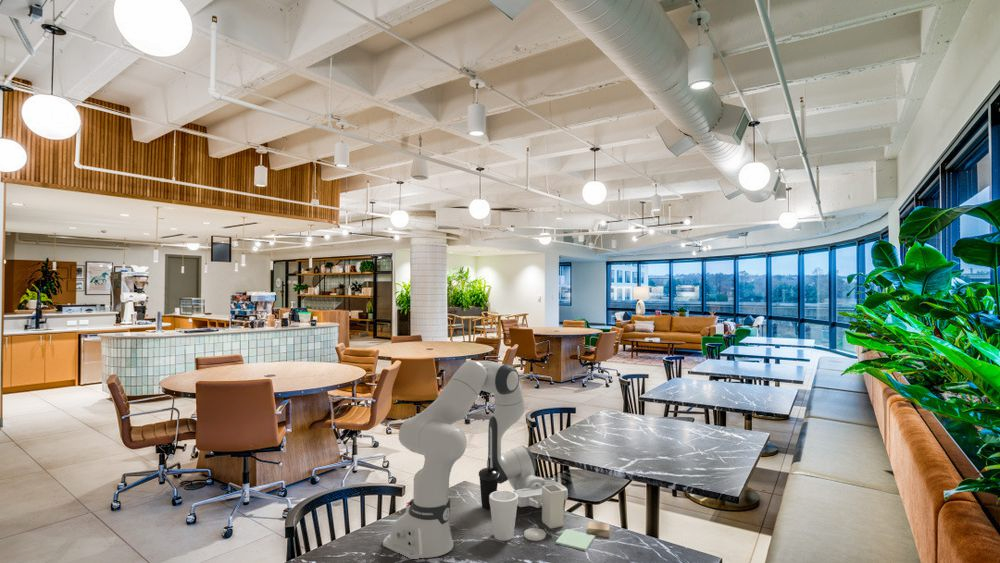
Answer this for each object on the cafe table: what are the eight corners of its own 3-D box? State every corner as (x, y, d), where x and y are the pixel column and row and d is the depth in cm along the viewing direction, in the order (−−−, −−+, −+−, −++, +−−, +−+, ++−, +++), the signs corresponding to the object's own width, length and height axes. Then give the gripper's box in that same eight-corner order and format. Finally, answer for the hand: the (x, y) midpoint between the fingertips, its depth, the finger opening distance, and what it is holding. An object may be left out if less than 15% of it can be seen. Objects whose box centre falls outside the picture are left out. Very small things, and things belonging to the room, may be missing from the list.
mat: (555, 543, 159) (555, 541, 159) (566, 530, 167) (566, 528, 167) (585, 551, 154) (585, 549, 154) (595, 537, 163) (595, 535, 163)
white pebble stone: (520, 538, 162) (520, 535, 162) (529, 530, 169) (529, 526, 169) (540, 543, 159) (540, 539, 159) (548, 534, 165) (548, 530, 166)
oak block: (587, 535, 165) (587, 528, 165) (588, 529, 170) (588, 521, 170) (609, 538, 163) (609, 530, 163) (609, 531, 168) (609, 523, 168)
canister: (542, 521, 175) (542, 486, 175) (555, 518, 177) (555, 484, 177) (550, 528, 169) (550, 492, 169) (563, 525, 171) (563, 490, 171)
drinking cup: (489, 496, 191) (491, 449, 186) (502, 507, 185) (504, 459, 181) (473, 504, 186) (474, 456, 182) (486, 515, 180) (487, 466, 176)
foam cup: (514, 544, 158) (515, 502, 159) (486, 541, 160) (486, 500, 160) (519, 530, 167) (519, 491, 168) (492, 528, 169) (493, 489, 170)
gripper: (507, 484, 183) (523, 498, 170) (556, 477, 191) (575, 490, 178) (507, 502, 183) (523, 517, 170) (556, 494, 191) (575, 508, 178)
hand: (550, 503), depth 174 cm, fingers open, 8 cm apart
